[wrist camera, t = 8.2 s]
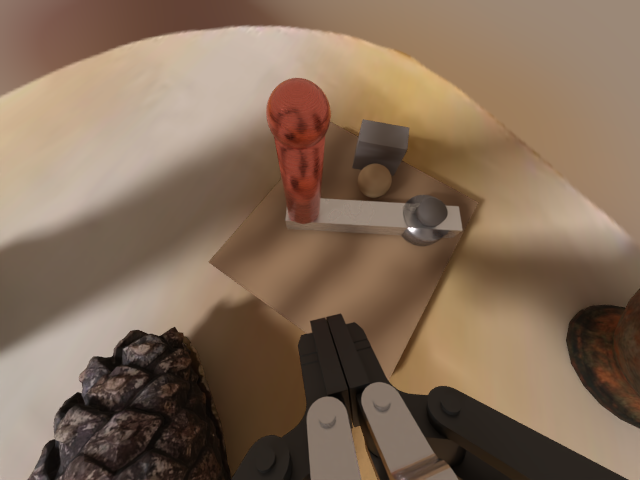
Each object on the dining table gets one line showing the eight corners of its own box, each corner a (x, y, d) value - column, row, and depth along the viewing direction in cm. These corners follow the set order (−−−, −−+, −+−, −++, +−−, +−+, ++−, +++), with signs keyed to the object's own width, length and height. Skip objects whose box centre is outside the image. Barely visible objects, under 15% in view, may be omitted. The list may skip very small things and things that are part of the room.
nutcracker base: (216, 267, 24) (188, 247, 19) (330, 133, 31) (334, 88, 25) (377, 384, 21) (401, 403, 16) (467, 210, 28) (507, 178, 22)
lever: (447, 206, 25) (589, 72, 12) (453, 248, 23) (624, 145, 11) (289, 196, 25) (267, 50, 12) (285, 238, 23) (254, 122, 10)
